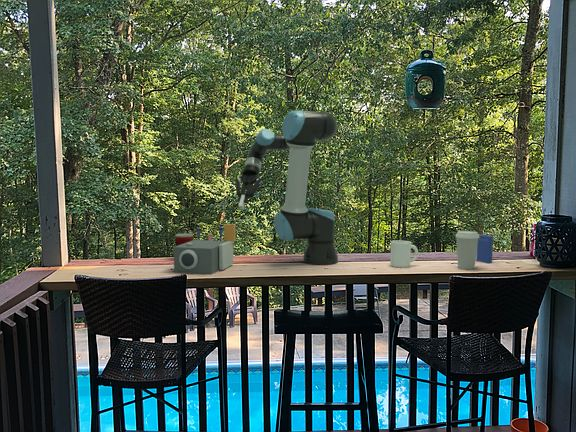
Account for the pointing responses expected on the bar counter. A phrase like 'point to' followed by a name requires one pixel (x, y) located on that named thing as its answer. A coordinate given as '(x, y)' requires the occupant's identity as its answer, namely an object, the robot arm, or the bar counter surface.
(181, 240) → the canned food
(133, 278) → the bar counter surface
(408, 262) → the mug
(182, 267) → the camera housing
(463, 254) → the coffee cup
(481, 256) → the walkman
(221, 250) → the door
